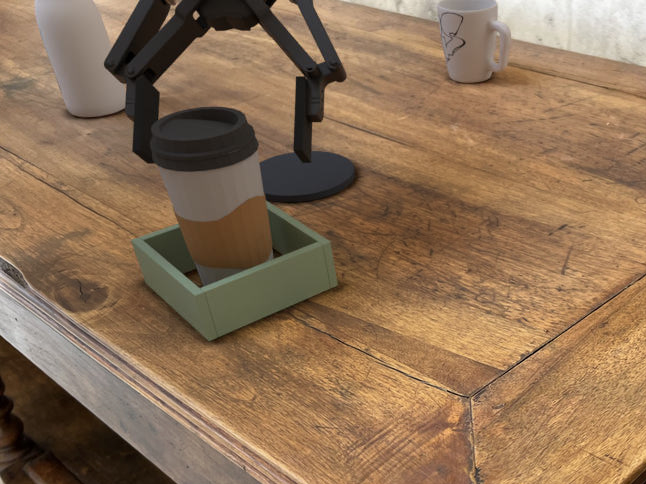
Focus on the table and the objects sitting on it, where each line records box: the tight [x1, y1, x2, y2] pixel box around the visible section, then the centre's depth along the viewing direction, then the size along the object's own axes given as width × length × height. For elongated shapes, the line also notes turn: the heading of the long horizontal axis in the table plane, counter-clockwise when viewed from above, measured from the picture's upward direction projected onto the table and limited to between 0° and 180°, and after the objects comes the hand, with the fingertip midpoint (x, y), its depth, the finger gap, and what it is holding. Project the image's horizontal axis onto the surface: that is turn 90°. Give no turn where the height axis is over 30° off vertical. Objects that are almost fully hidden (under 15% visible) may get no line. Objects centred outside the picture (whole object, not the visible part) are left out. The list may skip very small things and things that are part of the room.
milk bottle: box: [34, 0, 126, 118], centre depth 102 cm, size 8×8×20 cm
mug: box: [436, 0, 512, 84], centre depth 113 cm, size 11×8×10 cm
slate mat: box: [259, 150, 356, 203], centre depth 90 cm, size 12×12×1 cm
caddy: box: [130, 200, 339, 342], centre depth 71 cm, size 13×13×4 cm
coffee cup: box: [150, 106, 275, 287], centre depth 68 cm, size 8×8×15 cm
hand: (223, 157), depth 68 cm, fingers open, 13 cm apart
